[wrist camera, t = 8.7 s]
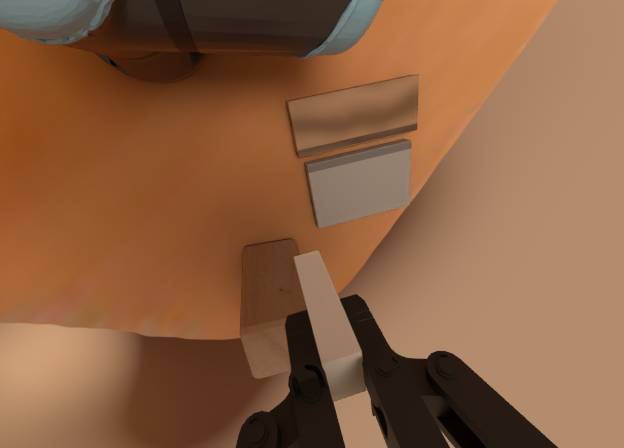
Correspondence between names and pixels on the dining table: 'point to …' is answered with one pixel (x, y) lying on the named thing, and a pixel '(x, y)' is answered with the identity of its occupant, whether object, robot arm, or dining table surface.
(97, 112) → the dining table surface
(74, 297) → the dining table surface
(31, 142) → the dining table surface
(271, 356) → the wooden block
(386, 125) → the board
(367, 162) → the plank
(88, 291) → the dining table surface
